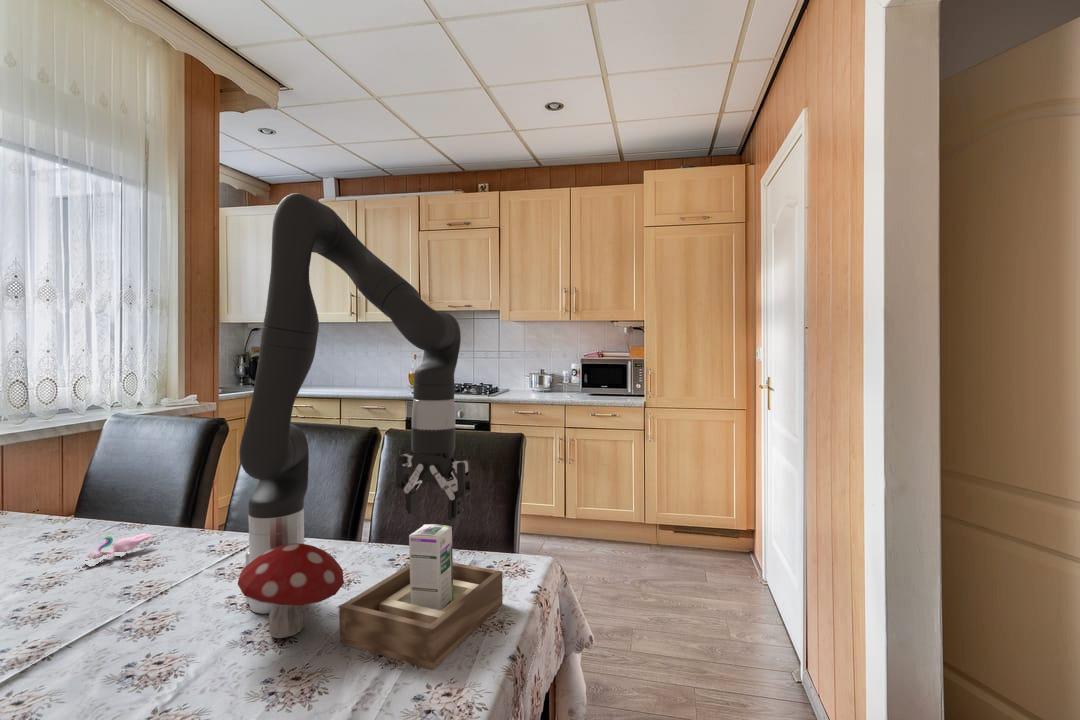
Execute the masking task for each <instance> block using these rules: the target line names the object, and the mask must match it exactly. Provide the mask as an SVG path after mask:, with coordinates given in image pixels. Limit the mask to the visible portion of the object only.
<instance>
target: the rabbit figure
mask: <svg viewBox="0 0 1080 720" xmlns="http://www.w3.org/2000/svg"><path fill="white" fill-rule="evenodd" d="M156 537H157V535H153V534H148V533H140V534H137V535H134V536H132V537H124V538H121V539H119V540H117V541H116V542H115V543H114V544H113V541H114V539H113V537H112V536H111V535H110V536H109V535H108V536H105V537H104V538H103V540H105V541H104V542H102V543H101V544H100V545H99V546H98V548H97V549H96V550H94V551H92V552H90V553H89V554H88V555H87V556H86V558H87V557H88V558H90V559H89V560H91V559H96V558H100V557H102V556H103V555H107V554H110V556H108V558H109V557H111V556H112V555H113V556H114V554H113V553H114V552H127V551H129V550H131V549H133V548H134V549H135V548H136V547H137V546H138V545H139V544H141V543H143V542H145V541H146V540H148V539H150V538H156ZM112 544H113V546H112V549H111V550H108V551H107V550H102V549H104V548H106V547H109V546H111V545H112ZM101 551H102V552H101ZM103 551H105V552H103ZM113 556H112V557H113ZM112 557H111V558H112ZM80 558H81V557H80ZM80 558H78V560H79V559H80ZM85 561H88V560H85Z"/></svg>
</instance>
